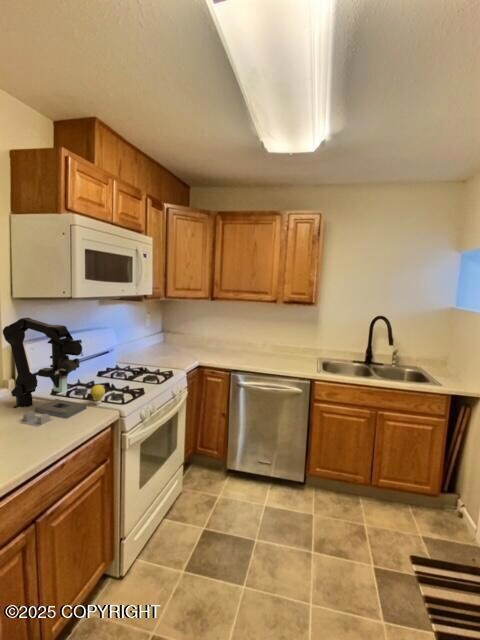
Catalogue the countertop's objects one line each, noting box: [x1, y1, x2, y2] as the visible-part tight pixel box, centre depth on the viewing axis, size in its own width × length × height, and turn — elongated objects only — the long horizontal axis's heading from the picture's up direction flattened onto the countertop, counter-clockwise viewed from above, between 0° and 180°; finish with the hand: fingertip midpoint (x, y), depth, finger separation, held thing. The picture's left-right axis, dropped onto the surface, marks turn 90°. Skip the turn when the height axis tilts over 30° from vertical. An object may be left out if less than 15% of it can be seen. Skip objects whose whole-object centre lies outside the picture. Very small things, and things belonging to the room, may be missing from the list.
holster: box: [19, 410, 54, 428], centre depth 152 cm, size 10×8×4 cm
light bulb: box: [90, 384, 106, 406], centre depth 175 cm, size 7×7×10 cm
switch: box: [34, 398, 88, 419], centre depth 165 cm, size 18×12×3 cm, turn 73°
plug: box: [52, 375, 68, 393], centre depth 163 cm, size 5×3×7 cm, turn 72°
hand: (60, 386), depth 163 cm, fingers closed on plug, 3 cm apart
